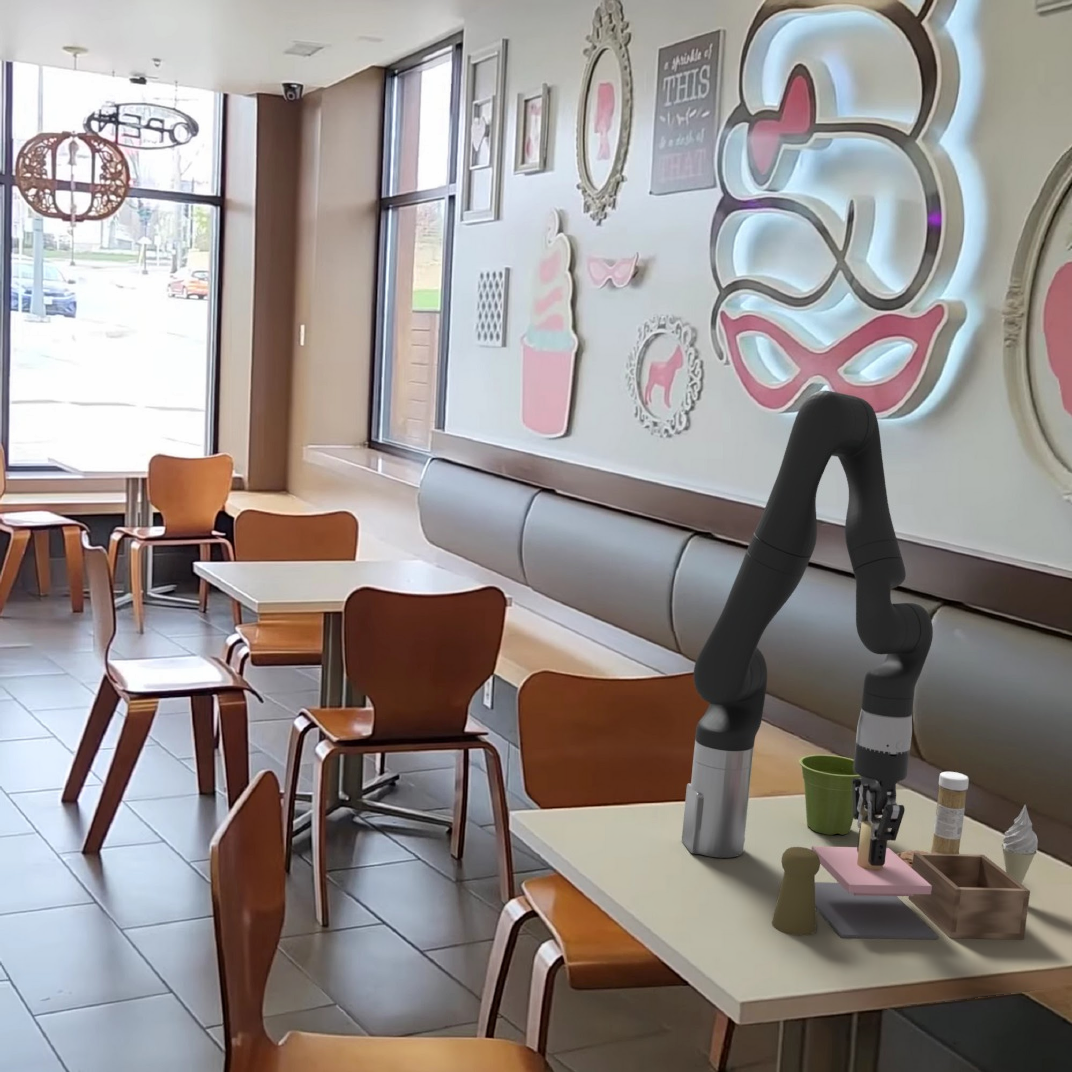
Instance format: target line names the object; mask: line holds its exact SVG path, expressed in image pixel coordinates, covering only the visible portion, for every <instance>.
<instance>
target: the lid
mask: <svg viewBox="0 0 1072 1072" xmlns="http://www.w3.org/2000/svg"><path fill="white" fill-rule="evenodd" d="M879 824H880V823H879ZM879 824H878V827H879ZM870 839H871V823H870V822H869V821H863V822H862V823H861V832H860V841H859V850H858V852H857V847H858V846H856V847H855V846H854V847H853V846H819V845H818V846H817V845H816V846H814V845H813V846H811V850H813V851H814V852H816V853H817V854H818V856H819V859H820V866H822V867H823V868H824V869H825V870H826V871H827V872H828V873H829V875H831V877H832V878H833V879H834V880H835V881H837V882H836V883H839V884H840V885H841V886H842V887H843V888H844V889H845V890H846V891H847V892H848V893H853V894H854V895H857V896H897V897H909V896H914V894H931V890H932V886H931V885H930V884H929V883H928V882H927V881H926V880H925V879H923V878H922V877H921V876H920V875H919V874H918V873H917V872H915V871H914V870H913V869H912V868H911V867H910V866H909V865H907V864H906V863H905V862H904V861H903V860H902V859H901V858H899V857H898V856H897V855H896V854H897V853H895V852H894V851H893V850H892V849H891V848H889V847H886V856H885V864H884V865H883V866H872V865H871V864H870V863H869V862H868V858H869V849H870Z"/></svg>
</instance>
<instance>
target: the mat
mask: <svg viewBox="0 0 1072 1072" xmlns="http://www.w3.org/2000/svg"><path fill="white" fill-rule="evenodd" d="M815 910H817V912H818V913H819V914H820V915H821V916H822V917H823V919H824V920H825V921H826V922H827V923H828V924H829V925H830V926H831V928H832V929H833V930H834V932H835V933H836V934H837V935H838V936H839V937H840V938H844V939H845V938H848V939H849V938H852V939H853V938H855V939H857V938H859V939H908V940H911V939H913V940H914V939H915V940H919V939H920V940H922V939H923V940H938V938H939V936H938V935H937V933H935V931H933V930H932V928H930V927H929V926H928V925H927V924H926V923H925V922H924V921H923V920H922V919H921V918H920V917H919V916H918V915H917V914H916V913H915V912H914V911H913V910H912V909H910V908H909V906H908V905H907V904H906V903H905V902H904V901H903V900H901V899H900V897H899V896H857V895H854V894H853V893H848V892H847V891H846V890H845V889H844V888H843V887H842V886H841V885H840V884H839V883H838V882H824V881H823V882H822V881H821V882H819V881H815Z"/></svg>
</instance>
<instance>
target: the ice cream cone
mask: <svg viewBox="0 0 1072 1072" xmlns="http://www.w3.org/2000/svg"><path fill="white" fill-rule="evenodd" d="M1032 826H1033V823H1032V821H1031V819H1030V815H1029V812H1028V810H1027V804H1024V805H1023V808H1022V809H1021V811H1020V813H1019V814H1018V816H1017V817H1016V818H1015V819H1014V820H1013V824H1012V825H1011V826H1010V827H1009V828H1008V830H1006V831H1005V832H1004V836H1005V837H1004V838H1003V840H1002V842H1003V843H1002V844H1001V845H1000V847H1001V849H1002V855H1003V861H1004V867H1005V872H1006V873H1008V874H1009V875H1010V876H1012V877H1013V878H1014V879H1015V880H1017V881H1018V882H1019V883H1020V884H1022V885H1023V881H1024V880H1025V877H1026V875H1027V873H1028V870H1029V869H1030V866H1031V864H1032V862H1033V859H1034V857H1035V855H1036V854H1037V851H1038V843H1039V841H1038V837H1037V834H1036V833H1035V831H1033V828H1032Z"/></svg>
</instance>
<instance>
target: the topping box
mask: <svg viewBox="0 0 1072 1072" xmlns="http://www.w3.org/2000/svg"><path fill="white" fill-rule="evenodd" d="M912 869H913V870H914V871H915V872H917V873H918V874H919V875H920V876H921V877H922V878H923V879H925V880H926V881H927V882H928V883H929V884H930V885H931V886H932V890H931V894H914V896H908V900H910V902H912V903H913V905H915V906H916V907H917V909H919V910H920V911H921V912H922V913H923V914H924V915H925V916H926V917H927V918H928V919H929V920H930V921H931V922H932V923H934V924H935V925H936V927H938V928H939V929H940V930H941V931H942V932H943V933H944V934H945V935H946V936H947V937H948V938H950V939H951V938H952V939H992V940H993V939H998V940H999V939H1000V940H1001V939H1003V940H1004V939H1005V940H1007V939H1008V940H1024V939H1025V932H1026V927H1027V926H1026V925H1027V917H1028V911H1029V910H1028V909H1029V902H1030V897H1031V895H1030V893H1031V890H1030V889H1028V888H1027V887H1026V886H1024V885H1023V883H1022V884H1020V883H1019V882H1018V881H1017V880H1015V879H1014V878H1013V877H1012V876H1010V875H1009V874H1008V873H1006V870H1004V869H1003V868H1002V867H1000V866H999V865H997V864H996V863H995V862H994V861H992V860H991V859H990V858H989V857H987V856H986V855H984V854H973V853H972V854H971V853H968V854H967V853H966V854H965V853H959V854H938V853H932V852H930V853H929V852H928V853H914V856H913V864H912Z"/></svg>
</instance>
